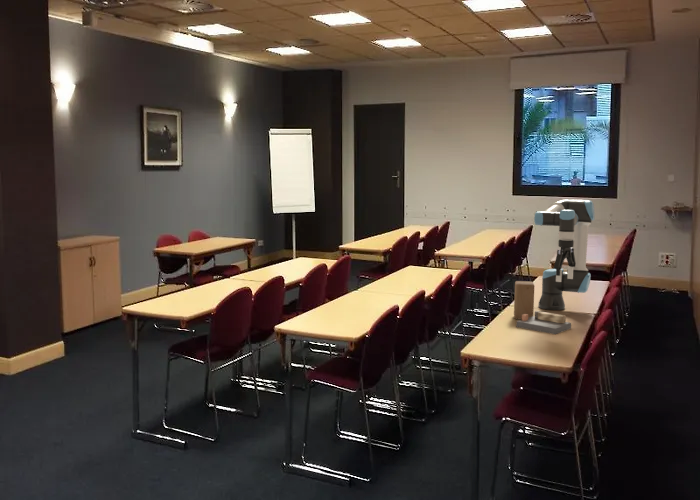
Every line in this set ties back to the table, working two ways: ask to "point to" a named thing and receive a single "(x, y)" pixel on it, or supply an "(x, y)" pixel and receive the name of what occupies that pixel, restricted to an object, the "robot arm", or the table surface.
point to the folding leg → (550, 317)
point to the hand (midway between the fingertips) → (564, 280)
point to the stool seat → (542, 325)
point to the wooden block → (523, 299)
